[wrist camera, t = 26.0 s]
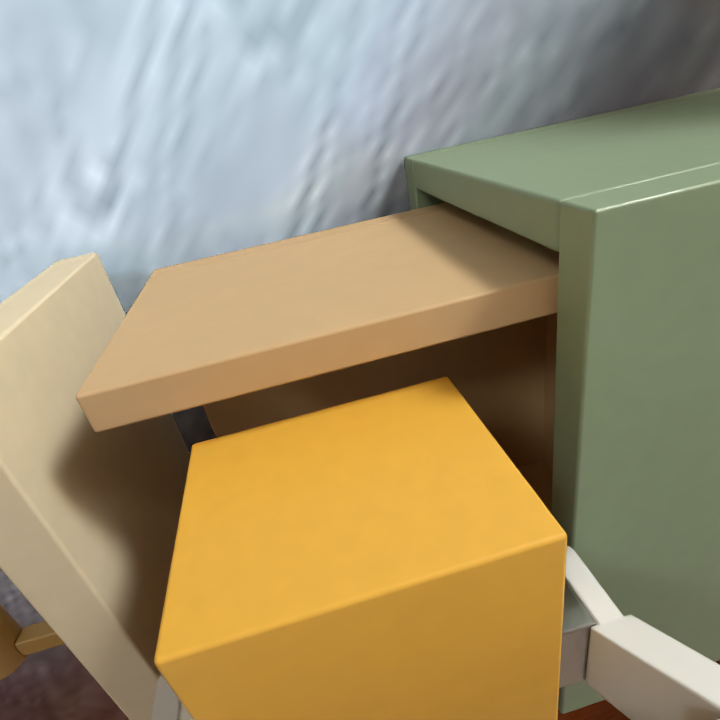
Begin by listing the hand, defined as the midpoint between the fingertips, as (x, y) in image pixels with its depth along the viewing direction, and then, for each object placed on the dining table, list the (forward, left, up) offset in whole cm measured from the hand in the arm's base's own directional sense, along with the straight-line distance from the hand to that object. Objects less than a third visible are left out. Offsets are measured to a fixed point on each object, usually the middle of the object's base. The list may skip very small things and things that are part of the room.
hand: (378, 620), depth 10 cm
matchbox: (0, 0, -2) cm, 2 cm away
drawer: (0, +1, -9) cm, 9 cm away
